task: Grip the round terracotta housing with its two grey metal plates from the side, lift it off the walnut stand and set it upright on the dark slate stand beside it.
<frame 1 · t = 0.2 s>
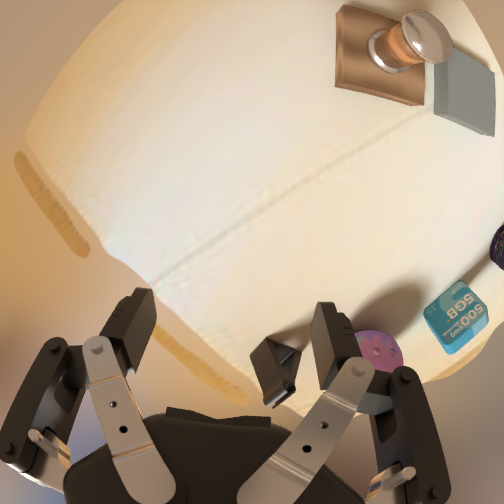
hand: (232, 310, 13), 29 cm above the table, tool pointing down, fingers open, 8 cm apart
phone stand: (275, 353, 54), on the table
dark blue cylinder: (500, 243, 42), on the table
housing: (387, 52, 26), point 4 cm above the table, touching walnut stand
slate stand: (460, 91, 30), on the table
decorative ball: (355, 341, 53), on the table
data package: (442, 300, 49), on the table
walnut stand: (376, 58, 29), on the table
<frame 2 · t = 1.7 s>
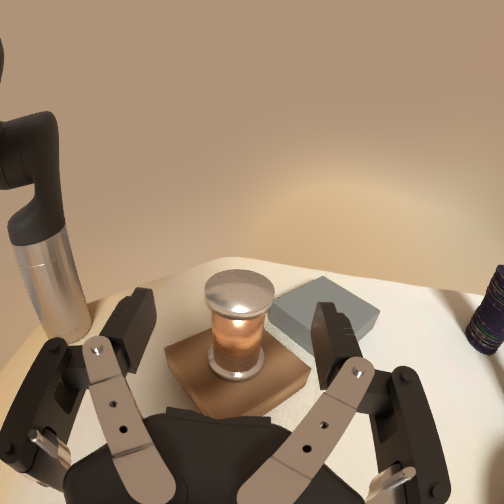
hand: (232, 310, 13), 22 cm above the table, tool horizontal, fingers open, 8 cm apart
dark blue cylinder: (481, 339, 38), on the table
housing: (235, 360, 31), point 4 cm above the table, touching walnut stand
slate stand: (323, 325, 43), on the table
walnut stand: (235, 379, 33), on the table
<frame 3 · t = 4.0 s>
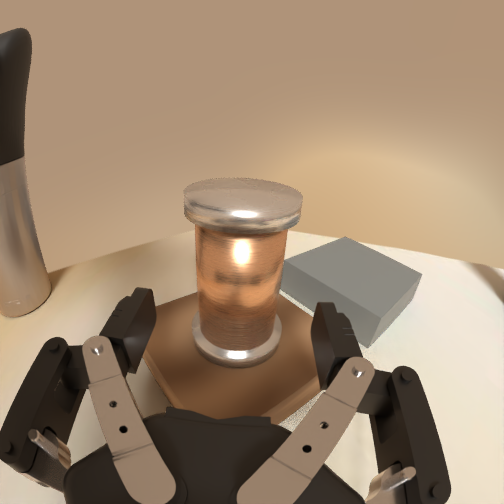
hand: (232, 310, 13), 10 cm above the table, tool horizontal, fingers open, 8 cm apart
housing: (236, 335, 20), point 4 cm above the table, touching walnut stand
slate stand: (352, 295, 32), on the table
walnut stand: (235, 367, 22), on the table
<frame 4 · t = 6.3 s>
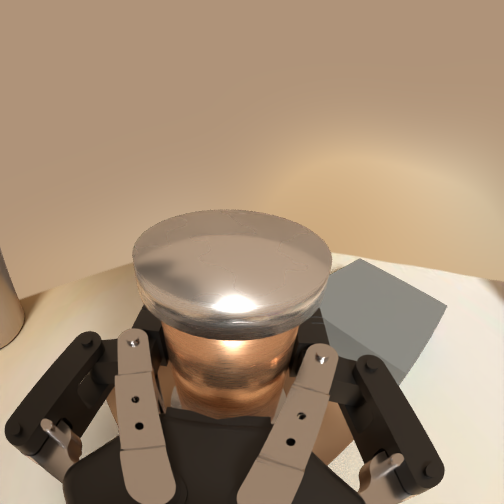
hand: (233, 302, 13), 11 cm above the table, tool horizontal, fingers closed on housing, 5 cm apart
housing: (228, 410, 14), point 4 cm above the table, touching gripper, walnut stand
slate stand: (367, 331, 26), on the table
walnut stand: (228, 434, 16), on the table
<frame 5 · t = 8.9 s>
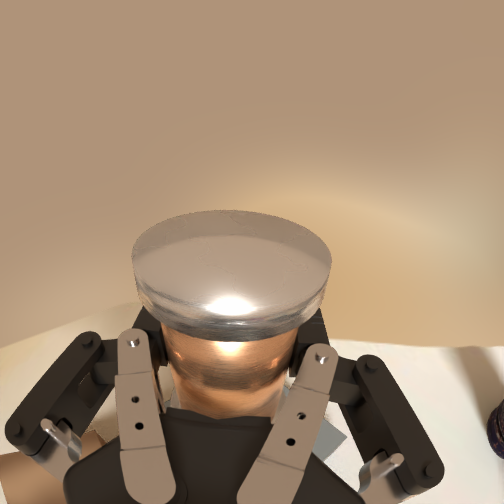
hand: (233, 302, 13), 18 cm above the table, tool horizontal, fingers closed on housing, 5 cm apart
housing: (228, 410, 14), point 11 cm above the table, touching gripper
slate stand: (241, 448, 21), on the table
when the fingers open (12 cm above the table, at t = 11.4 s): housing drops 1 cm, resting on slate stand.
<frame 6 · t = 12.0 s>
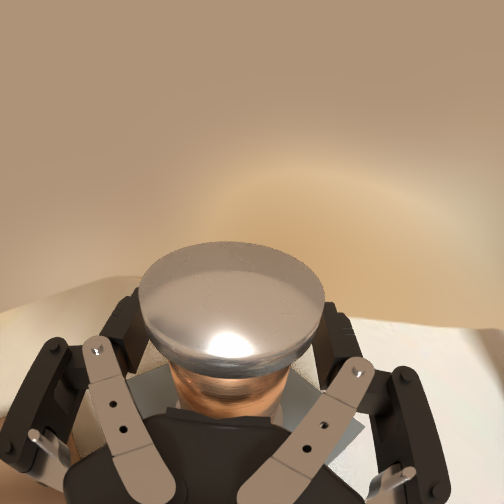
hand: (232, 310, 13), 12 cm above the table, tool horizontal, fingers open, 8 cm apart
housing: (228, 422, 15), point 4 cm above the table, touching slate stand
slate stand: (228, 441, 17), on the table
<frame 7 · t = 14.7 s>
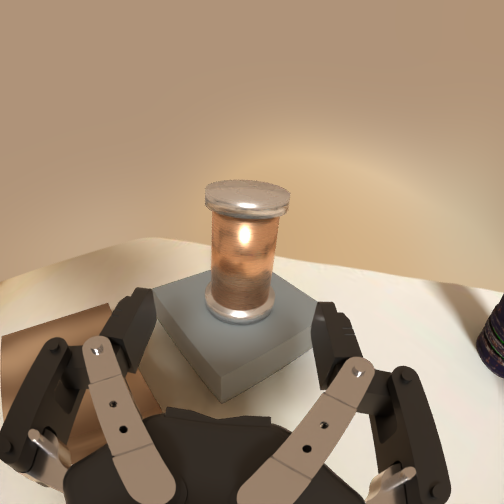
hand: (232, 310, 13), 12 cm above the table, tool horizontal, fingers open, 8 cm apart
dark blue cylinder: (498, 355, 23), on the table
housing: (239, 302, 26), point 4 cm above the table, touching slate stand
slate stand: (237, 331, 28), on the table
walnut stand: (77, 395, 18), on the table
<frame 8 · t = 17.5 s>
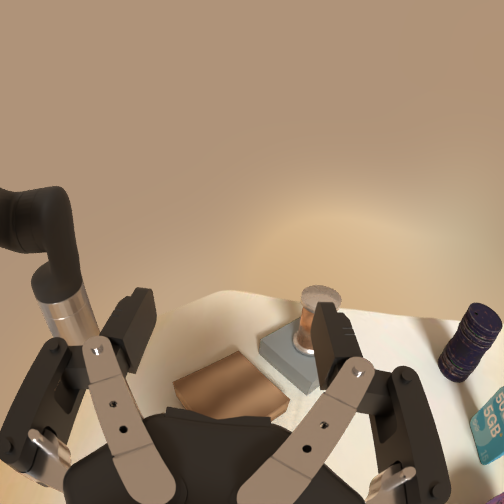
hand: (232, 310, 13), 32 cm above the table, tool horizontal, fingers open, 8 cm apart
dark blue cylinder: (453, 367, 44), on the table
housing: (310, 344, 48), point 4 cm above the table, touching slate stand
slate stand: (305, 357, 50), on the table
data package: (481, 441, 26), on the table
walnut stand: (229, 405, 39), on the table
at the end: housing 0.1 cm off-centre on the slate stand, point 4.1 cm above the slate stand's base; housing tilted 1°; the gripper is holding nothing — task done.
